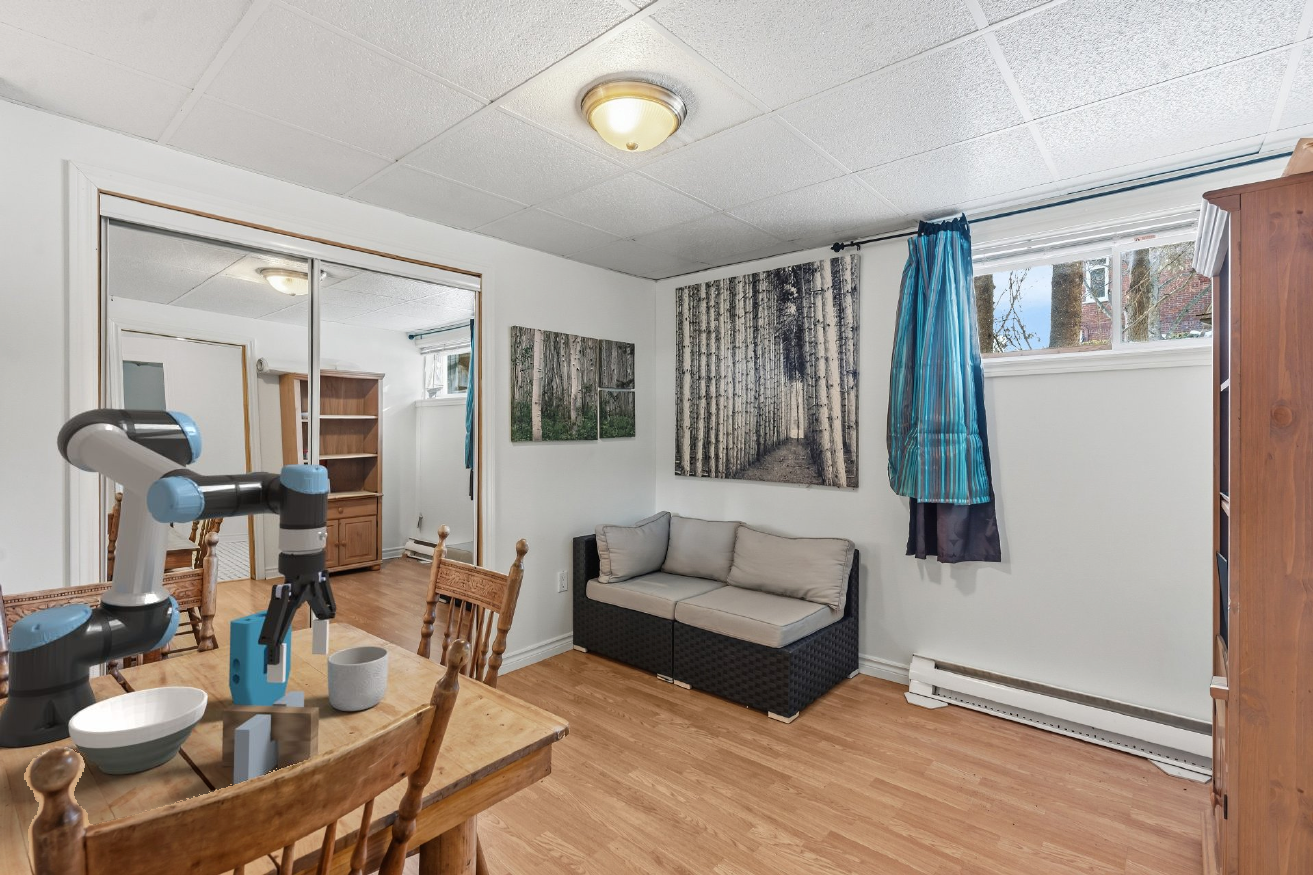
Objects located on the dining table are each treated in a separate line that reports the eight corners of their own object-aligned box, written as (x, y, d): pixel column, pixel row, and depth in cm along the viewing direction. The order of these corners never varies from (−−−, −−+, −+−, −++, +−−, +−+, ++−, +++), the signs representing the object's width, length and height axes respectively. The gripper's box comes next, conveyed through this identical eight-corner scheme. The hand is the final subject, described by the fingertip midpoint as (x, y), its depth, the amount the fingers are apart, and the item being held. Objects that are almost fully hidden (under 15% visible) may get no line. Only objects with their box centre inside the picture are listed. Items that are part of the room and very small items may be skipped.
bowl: (41, 774, 109) (42, 719, 109) (163, 726, 127) (164, 679, 127) (111, 800, 102) (112, 742, 102) (230, 746, 120) (231, 696, 120)
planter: (317, 703, 140) (318, 654, 140) (373, 687, 149) (374, 641, 149) (339, 721, 132) (340, 669, 132) (397, 704, 141) (398, 655, 141)
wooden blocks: (221, 766, 113) (223, 710, 113) (231, 758, 116) (232, 704, 116) (310, 768, 113) (311, 713, 113) (317, 761, 116) (318, 707, 115)
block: (244, 719, 131) (247, 624, 131) (226, 716, 133) (228, 621, 132) (292, 697, 143) (293, 609, 143) (274, 694, 144) (276, 606, 144)
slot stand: (248, 788, 106) (249, 729, 106) (233, 788, 106) (234, 729, 106) (303, 742, 122) (304, 691, 122) (290, 742, 122) (291, 690, 122)
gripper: (280, 565, 102) (277, 696, 102) (357, 539, 127) (354, 644, 127) (234, 563, 102) (231, 694, 102) (320, 537, 127) (317, 643, 127)
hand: (299, 667), depth 114 cm, fingers open, 13 cm apart
